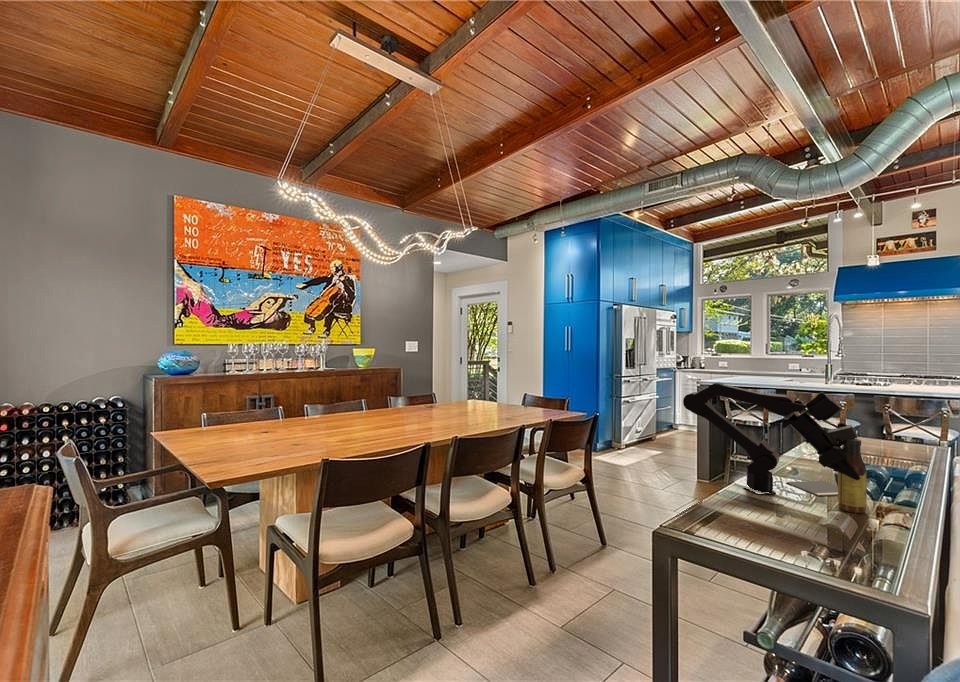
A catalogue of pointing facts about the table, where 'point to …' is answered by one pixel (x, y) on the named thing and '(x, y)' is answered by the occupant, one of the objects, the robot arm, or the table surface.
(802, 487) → the mat
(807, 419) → the robot arm
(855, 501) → the sauce bottle
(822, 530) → the table surface
